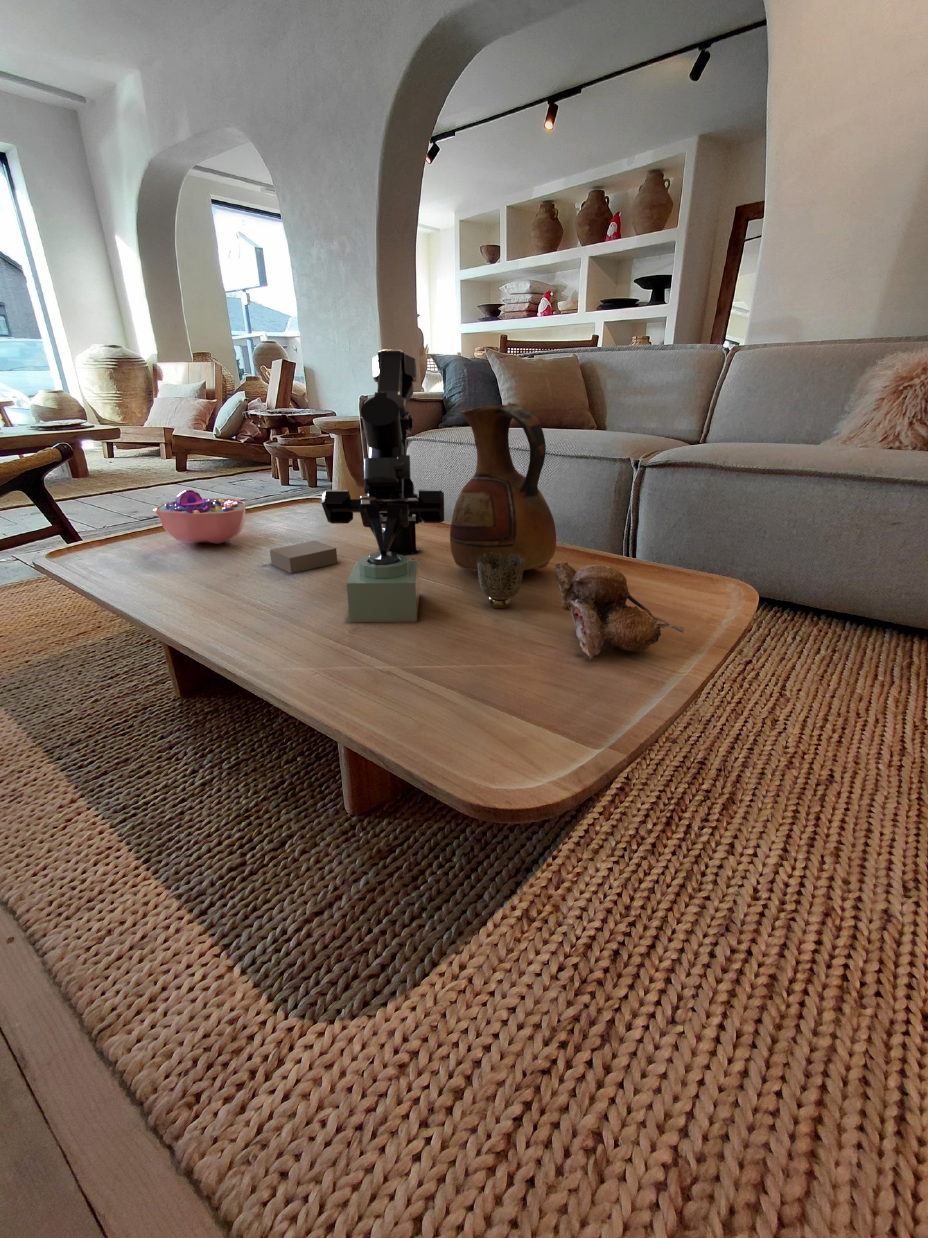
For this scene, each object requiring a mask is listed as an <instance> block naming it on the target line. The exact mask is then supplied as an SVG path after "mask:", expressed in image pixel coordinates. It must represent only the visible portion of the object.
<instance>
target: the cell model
mask: <svg viewBox="0 0 928 1238" xmlns="http://www.w3.org/2000/svg"><path fill="white" fill-rule="evenodd" d="M246 509H247V503H246V502H245V501H243V500H240V499H237V498H213V497H212V498H202V496H201V495H200V493H199V492H197V491H195V490H192V489H186V490H183V491H182V492H180V493H179V494H178V495H177V496H176V498H175V500H174V501H171V502H167V503H163V504H161V505H158V506H157V507H156V508H154V509H153V511H154V513H155V514H156V515H157V517H158V518H159V520H160V523H161V527H162V528H163V529H164V530H165V531H166V532H167V533H168V534H169V535H170V536H171V537H172V538H173V539H175V540H176V541H179V542H181V543H185V544H208V543H211V544H217V545H218V544H223V543H226V542H227V541H231V540H233V539H234V538H236V537H238V536H239V535H240V534H241V532H242V531H243V529H244V526H245V523H246V517H247V516H246Z"/></svg>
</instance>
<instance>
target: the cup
mask: <svg viewBox="0 0 928 1238" xmlns="http://www.w3.org/2000/svg"><path fill="white" fill-rule="evenodd" d="M524 563H525V559H524V557H523V558H522V559H521V557H520V555H519V554H516V555H515V556H514V555H513V554H512V553H510V554H509V556H508V558H507V557H502V556H501V553H500V552H499V553H498V554H497V555H496V554H495V552H493V551H492V552H491V553H490V554H489V556H487V555H486V553H484V555H483V558H482V557H481V555H479V558H478V557H477V566H478V571H477V573H478V574H477V576H478V583H479V587H480V590H481V592H482V593H483V595H485V597H487V598H488V599H487V602H488V605H489V606H490V607H491V608H494V609H501V610H503V609H507V608H508V607H510V605H511V604H512V599H513V597H515V596H516V595H517V594H518V592H519V590H520V588H521V584H522V580H523V573H524V571H523V568H524Z"/></svg>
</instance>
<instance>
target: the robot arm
mask: <svg viewBox="0 0 928 1238" xmlns="http://www.w3.org/2000/svg"><path fill="white" fill-rule="evenodd" d="M372 378H373V380H374V382H375V383H376V384H377V391H375V392H374V396H372V397H370V399H368V400H367V401H365V402H364V403H363V404H362V406H361V407H360V415H361V416H360V426H361V431H362V432H363V433H364V436H365V441H366V444H367V446H368V457H365V458H364V459H363V481H364V483H363V490H364V494H366V495H360V496H359V499H358V498H357V499H356V498H355V499H354V498H351V494H350V490H349V489H326V490H325V491H324V492H323V494H322V495H321V507H322V509H323V511H324V515H325V518H326V520H327V522H328V523H329V524H331V525H332V524H333V525H334V524H337V525H338V524H349V523H350V522H352V521H353V520H354V514H360V519H361V522H362V526H363V527H364V528H369V529H370V530H371V532H372V534H373V537H374V538H375V541H376V544H377V547H378V549H379V550H378V551H379V552H380V553H381V555H386V554H387V552H394V553H397V554H399V555H407V554H416V553H420V549H419V548H418V547H417V535H416V533H417V531H416V525H419V523H422V522H423V523H424V524H442V523H443V522H445V493H444V491H443V490H442V489H418V493H415V492H416V491H415V490H416V489H415V485H414V482H413V481H412V479H411V456H410V454H408V453H407V451H408V449H407V447H408V446H407V439H408V438H407V437H408V434H411V432H412V431H413V430H412V429H413V428H414V427H415V426H414V424H415V422H414V417H412V415H411V411H407V405H408V403H409V401H411V398H412V397H413V395H414V383H417V363H416V358H414V357H412V356H411V355H408V354H406V351H403V350H402V349H381V350H379V351H378V352H377V355H376V356H373V358H372Z"/></svg>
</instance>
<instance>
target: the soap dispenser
mask: <svg viewBox="0 0 928 1238" xmlns="http://www.w3.org/2000/svg"><path fill="white" fill-rule="evenodd" d="M369 555H370V554H368V555H366V556H363V557H361V558H360V559H359V560H358V561H356V562H355V565H354V566H353V569H352V571H351V573H350V575H349V577H348V579H347V582H346V595H347V606H348V607H347V608H348V618H349V623H387V622H388V623H399V622H400V623H401V622H402V623H403V622H417V621H418V613H419V612H418V611H419V604H420V603H419V602H420V579H419V576H420V575H419V560H409V558H408V557H407V556H405V555H404V554H400V555H399V554H398V562H397V563H394V564H388V565H375V564H370V563H369Z"/></svg>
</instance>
